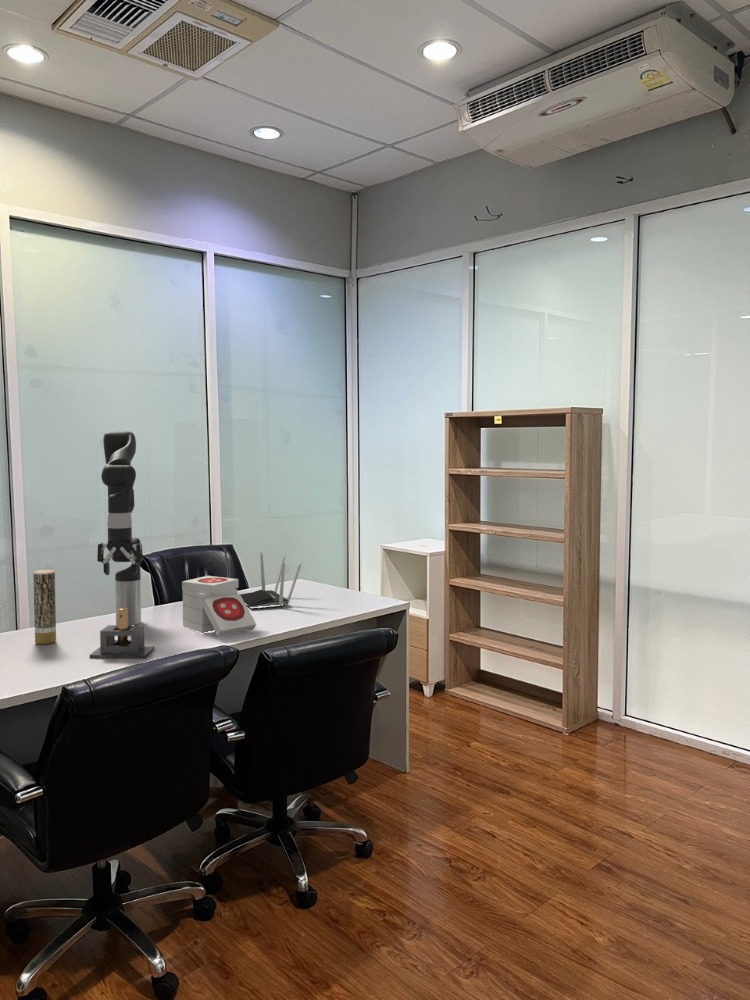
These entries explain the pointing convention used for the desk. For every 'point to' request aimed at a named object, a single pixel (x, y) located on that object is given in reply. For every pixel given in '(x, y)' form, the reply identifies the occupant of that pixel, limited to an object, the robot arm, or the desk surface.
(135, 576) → the robot arm
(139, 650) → the stand
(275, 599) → the wireless router
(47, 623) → the bark log
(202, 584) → the stack of pizza boxes
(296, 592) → the desk surface
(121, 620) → the tan wooden rod
